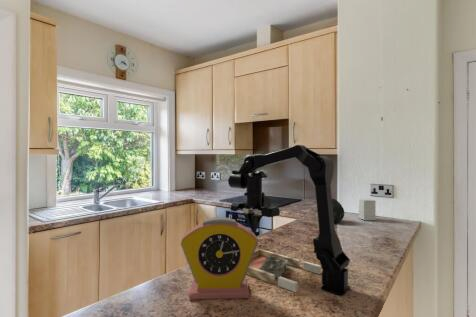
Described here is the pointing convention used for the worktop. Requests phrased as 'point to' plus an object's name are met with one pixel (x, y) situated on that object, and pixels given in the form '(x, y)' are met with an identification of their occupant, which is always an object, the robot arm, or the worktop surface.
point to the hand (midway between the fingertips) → (254, 232)
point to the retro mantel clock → (219, 258)
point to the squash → (337, 211)
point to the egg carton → (274, 265)
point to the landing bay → (292, 284)
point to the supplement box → (367, 209)
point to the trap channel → (259, 259)
